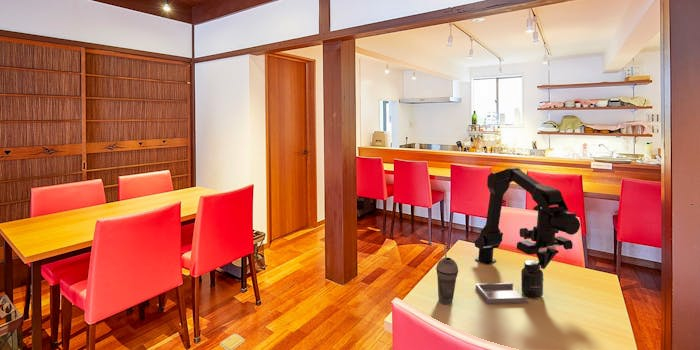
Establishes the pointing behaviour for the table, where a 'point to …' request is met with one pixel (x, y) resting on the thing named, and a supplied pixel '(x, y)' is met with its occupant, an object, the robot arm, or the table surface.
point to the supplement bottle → (532, 279)
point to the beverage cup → (446, 279)
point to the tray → (500, 293)
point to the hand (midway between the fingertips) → (542, 268)
